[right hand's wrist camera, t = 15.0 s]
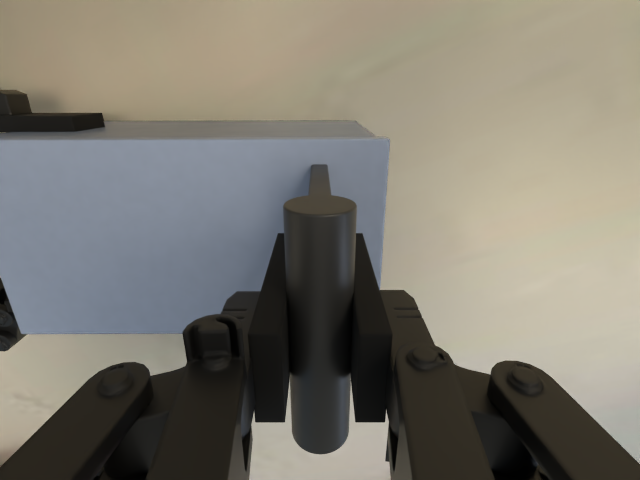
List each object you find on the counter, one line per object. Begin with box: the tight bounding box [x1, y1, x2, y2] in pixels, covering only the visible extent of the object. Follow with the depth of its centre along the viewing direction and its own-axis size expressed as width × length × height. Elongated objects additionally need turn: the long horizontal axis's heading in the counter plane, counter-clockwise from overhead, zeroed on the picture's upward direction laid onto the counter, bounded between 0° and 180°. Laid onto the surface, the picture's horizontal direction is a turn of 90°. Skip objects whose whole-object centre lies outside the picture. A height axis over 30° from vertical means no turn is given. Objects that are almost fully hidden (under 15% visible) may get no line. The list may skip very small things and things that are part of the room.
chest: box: [0, 121, 376, 138], centre depth 22 cm, size 18×10×10 cm, turn 90°
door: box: [0, 137, 390, 454], centre depth 14 cm, size 18×10×8 cm, turn 90°
